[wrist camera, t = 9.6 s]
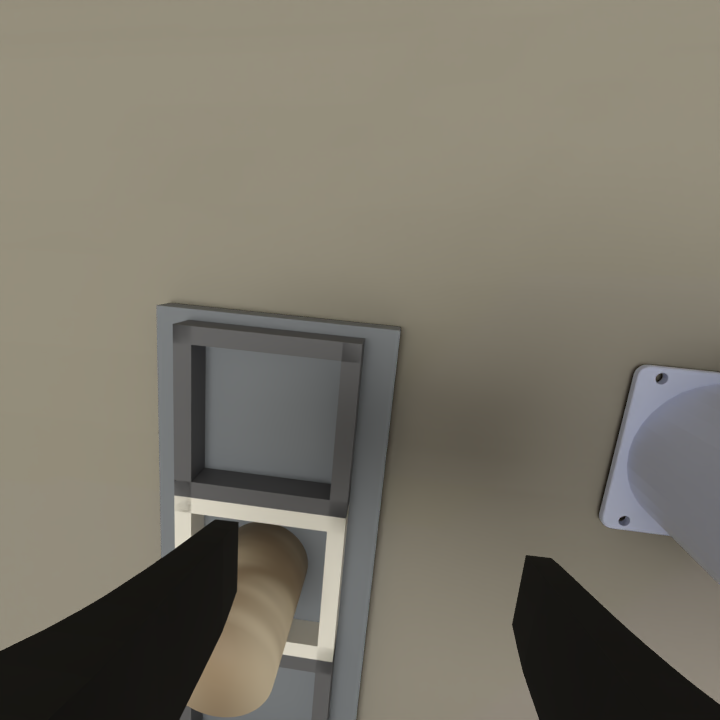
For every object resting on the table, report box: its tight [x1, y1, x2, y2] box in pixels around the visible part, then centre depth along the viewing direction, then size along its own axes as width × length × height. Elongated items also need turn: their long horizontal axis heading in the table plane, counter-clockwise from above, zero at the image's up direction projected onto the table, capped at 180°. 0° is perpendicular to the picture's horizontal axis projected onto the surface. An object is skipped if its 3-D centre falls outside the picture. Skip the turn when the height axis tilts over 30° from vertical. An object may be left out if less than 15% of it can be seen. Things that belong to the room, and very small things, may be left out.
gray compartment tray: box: [157, 303, 401, 720], centre depth 21 cm, size 11×25×3 cm, turn 175°
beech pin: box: [187, 522, 308, 717], centre depth 19 cm, size 4×4×6 cm
